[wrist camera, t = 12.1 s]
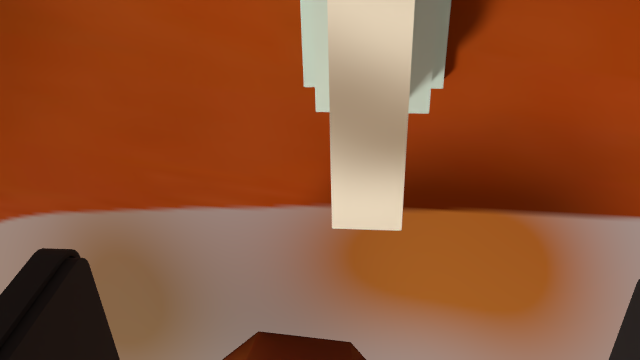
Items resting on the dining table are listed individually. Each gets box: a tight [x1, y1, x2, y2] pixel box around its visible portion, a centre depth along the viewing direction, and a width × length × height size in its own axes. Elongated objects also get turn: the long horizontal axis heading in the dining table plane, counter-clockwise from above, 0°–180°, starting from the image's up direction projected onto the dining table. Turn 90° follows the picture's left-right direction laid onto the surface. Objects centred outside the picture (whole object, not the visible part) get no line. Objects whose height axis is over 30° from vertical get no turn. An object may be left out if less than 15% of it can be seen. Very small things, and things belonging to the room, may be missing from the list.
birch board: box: [327, 0, 415, 231], centre depth 24 cm, size 9×2×14 cm, turn 2°
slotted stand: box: [300, 0, 451, 113], centre depth 29 cm, size 9×8×4 cm
